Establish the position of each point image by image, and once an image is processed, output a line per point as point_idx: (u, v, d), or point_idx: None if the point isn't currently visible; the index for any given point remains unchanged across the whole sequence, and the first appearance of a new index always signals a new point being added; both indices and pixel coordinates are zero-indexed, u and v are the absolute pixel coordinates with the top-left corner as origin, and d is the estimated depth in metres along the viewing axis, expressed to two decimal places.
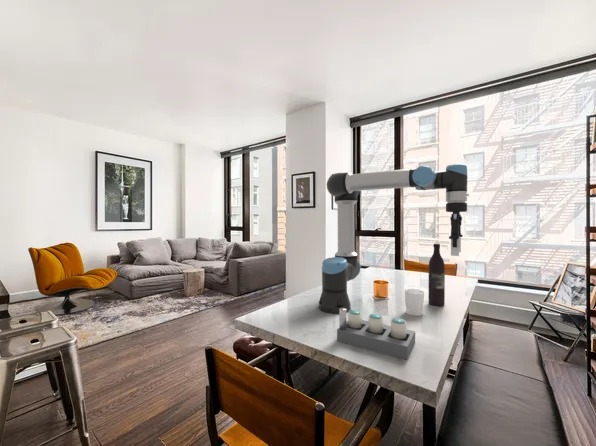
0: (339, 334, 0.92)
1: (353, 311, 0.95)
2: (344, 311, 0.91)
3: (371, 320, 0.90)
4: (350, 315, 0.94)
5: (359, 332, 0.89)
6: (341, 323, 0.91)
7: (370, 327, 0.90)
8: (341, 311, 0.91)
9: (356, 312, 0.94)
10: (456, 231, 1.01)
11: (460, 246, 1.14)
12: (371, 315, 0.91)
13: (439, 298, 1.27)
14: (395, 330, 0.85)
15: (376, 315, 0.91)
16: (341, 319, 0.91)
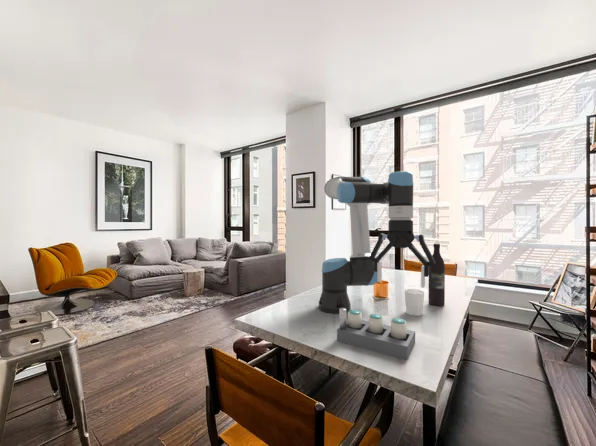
0: (339, 334, 0.92)
1: (353, 311, 0.95)
2: (344, 311, 0.91)
3: (371, 320, 0.90)
4: (350, 315, 0.94)
5: (359, 332, 0.89)
6: (341, 323, 0.91)
7: (370, 327, 0.90)
8: (341, 311, 0.91)
9: (356, 312, 0.94)
10: None
11: (421, 279, 0.83)
12: (371, 315, 0.91)
13: (439, 298, 1.27)
14: (395, 330, 0.85)
15: (376, 315, 0.91)
16: (341, 319, 0.91)
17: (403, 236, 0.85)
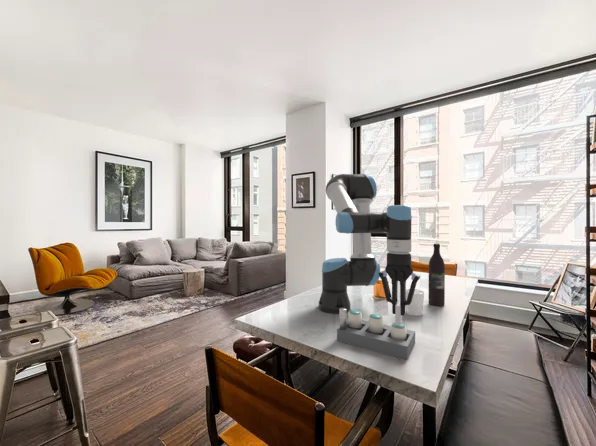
0: (339, 334, 0.92)
1: (353, 311, 0.95)
2: (344, 311, 0.91)
3: (371, 320, 0.90)
4: (350, 315, 0.94)
5: (359, 332, 0.89)
6: (341, 323, 0.91)
7: (370, 327, 0.90)
8: (341, 311, 0.91)
9: (356, 312, 0.94)
10: None
11: (397, 317, 0.86)
12: (371, 315, 0.91)
13: (439, 298, 1.27)
14: (395, 334, 0.85)
15: (376, 315, 0.91)
16: (341, 319, 0.91)
17: (403, 266, 0.85)
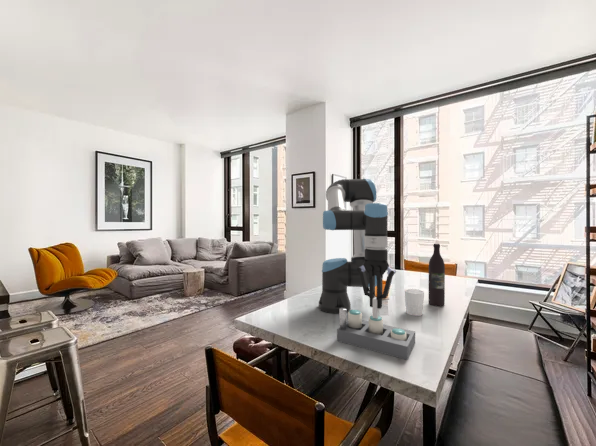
0: (339, 334, 0.92)
1: (353, 311, 0.95)
2: (344, 311, 0.91)
3: (371, 322, 0.90)
4: (350, 315, 0.94)
5: (359, 332, 0.89)
6: (341, 323, 0.91)
7: (370, 329, 0.90)
8: (341, 311, 0.91)
9: (356, 312, 0.94)
10: None
11: (374, 310, 0.90)
12: (371, 317, 0.91)
13: (439, 298, 1.27)
14: None
15: None
16: (341, 319, 0.91)
17: (380, 261, 0.89)
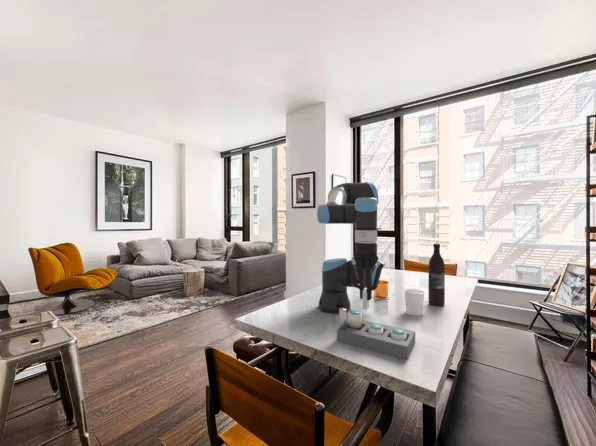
0: (339, 334, 0.92)
1: (353, 311, 0.95)
2: (344, 311, 0.91)
3: (371, 330, 0.90)
4: (350, 315, 0.94)
5: (359, 332, 0.89)
6: (341, 323, 0.91)
7: None
8: (341, 311, 0.91)
9: (356, 312, 0.94)
10: None
11: (364, 302, 0.93)
12: (371, 325, 0.92)
13: (439, 298, 1.27)
14: None
15: (376, 325, 0.92)
16: (341, 319, 0.91)
17: (369, 255, 0.91)
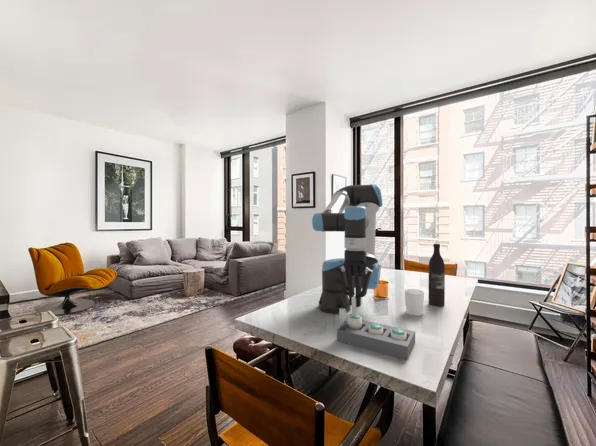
0: (339, 334, 0.92)
1: None
2: (344, 311, 0.91)
3: (371, 330, 0.90)
4: (350, 319, 0.94)
5: (359, 332, 0.89)
6: (341, 323, 0.91)
7: None
8: (341, 311, 0.91)
9: (356, 316, 0.94)
10: None
11: (353, 309, 0.94)
12: (371, 325, 0.92)
13: (439, 298, 1.27)
14: None
15: (376, 325, 0.92)
16: (341, 319, 0.91)
17: (358, 262, 0.93)
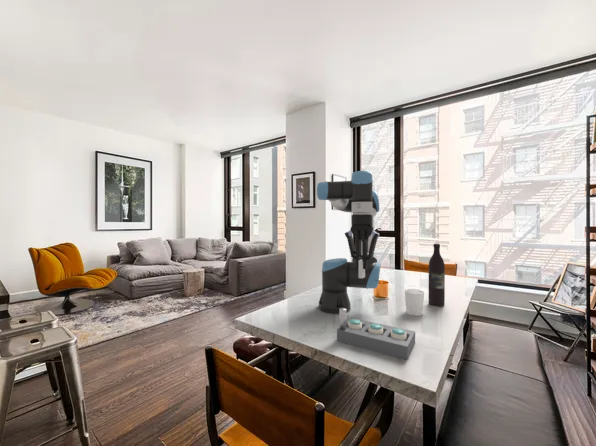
0: (339, 334, 0.92)
1: (353, 321, 0.96)
2: (344, 311, 0.91)
3: (371, 330, 0.90)
4: (350, 325, 0.94)
5: (359, 332, 0.89)
6: (341, 323, 0.91)
7: None
8: (341, 311, 0.91)
9: (356, 322, 0.94)
10: None
11: (360, 271, 0.97)
12: (371, 325, 0.92)
13: (439, 298, 1.27)
14: None
15: (376, 325, 0.92)
16: (341, 319, 0.91)
17: (365, 225, 0.96)
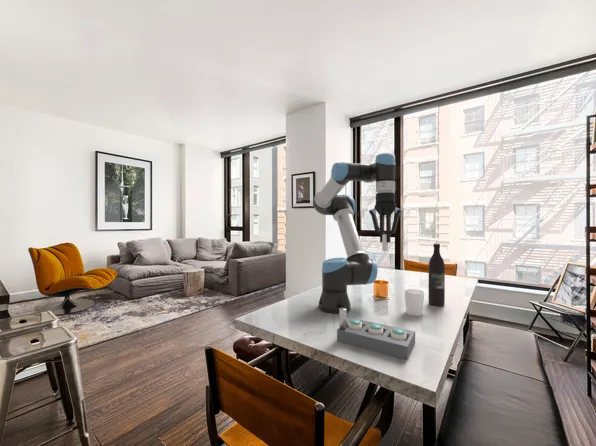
0: (339, 334, 0.92)
1: (353, 321, 0.96)
2: (344, 311, 0.91)
3: (371, 330, 0.90)
4: (350, 325, 0.94)
5: (359, 332, 0.89)
6: (341, 323, 0.91)
7: None
8: (341, 311, 0.91)
9: (356, 322, 0.94)
10: None
11: (384, 244, 1.07)
12: (371, 325, 0.92)
13: (439, 298, 1.27)
14: None
15: (376, 325, 0.92)
16: (341, 319, 0.91)
17: (388, 203, 1.06)
